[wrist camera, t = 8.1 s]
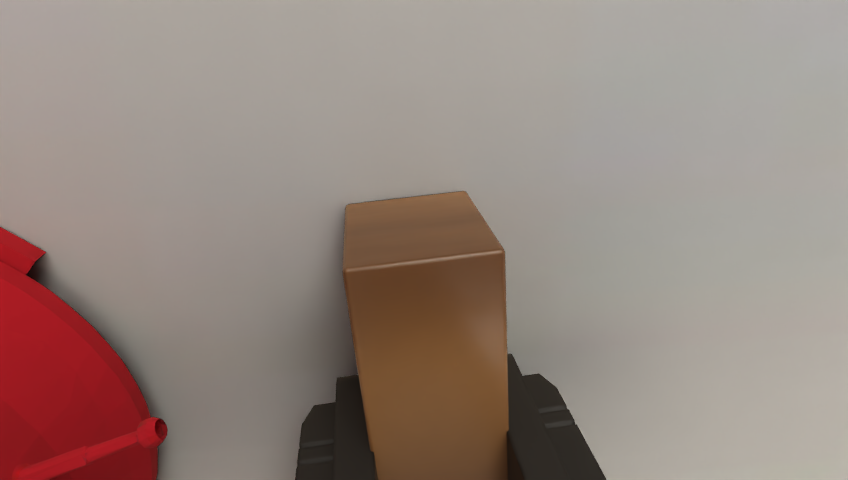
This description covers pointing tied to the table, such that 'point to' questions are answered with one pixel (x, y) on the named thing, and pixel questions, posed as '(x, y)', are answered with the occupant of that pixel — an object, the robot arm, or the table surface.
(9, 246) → the alarm clock
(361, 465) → the robot arm
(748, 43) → the table surface
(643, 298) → the table surface
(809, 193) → the table surface
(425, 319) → the wooden stamp
